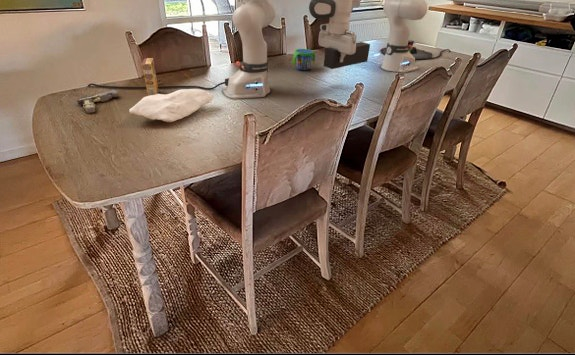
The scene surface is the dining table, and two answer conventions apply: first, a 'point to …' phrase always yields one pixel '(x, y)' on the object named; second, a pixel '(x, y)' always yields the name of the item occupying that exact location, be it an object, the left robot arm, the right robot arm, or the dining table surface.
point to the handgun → (95, 100)
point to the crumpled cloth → (171, 104)
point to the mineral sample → (414, 51)
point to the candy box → (150, 76)
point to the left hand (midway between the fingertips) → (334, 60)
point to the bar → (346, 56)
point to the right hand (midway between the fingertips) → (339, 16)
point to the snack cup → (303, 58)
